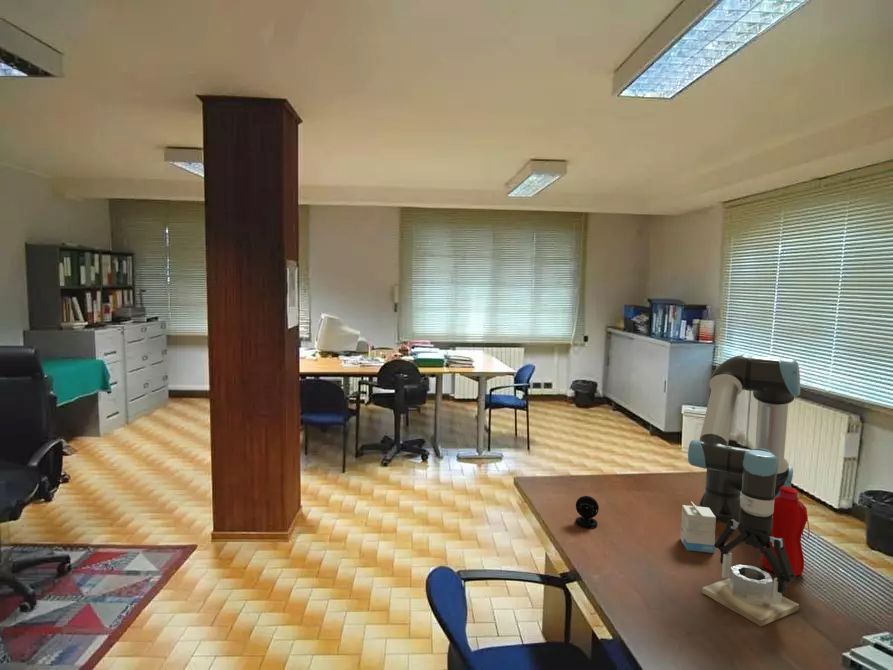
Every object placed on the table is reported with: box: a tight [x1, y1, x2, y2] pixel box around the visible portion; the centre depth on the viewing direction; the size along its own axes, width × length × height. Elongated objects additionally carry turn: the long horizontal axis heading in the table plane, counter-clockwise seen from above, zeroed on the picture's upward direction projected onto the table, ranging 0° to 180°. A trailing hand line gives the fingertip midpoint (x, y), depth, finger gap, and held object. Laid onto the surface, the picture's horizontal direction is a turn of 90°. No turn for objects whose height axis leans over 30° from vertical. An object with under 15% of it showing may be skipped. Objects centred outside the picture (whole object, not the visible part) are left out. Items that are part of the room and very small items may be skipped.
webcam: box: [575, 495, 600, 530], centre depth 182 cm, size 8×8×10 cm
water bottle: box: [761, 486, 810, 577], centre depth 154 cm, size 9×11×25 cm
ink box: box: [679, 501, 717, 554], centre depth 169 cm, size 9×8×13 cm
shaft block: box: [701, 569, 800, 627], centre depth 138 cm, size 16×16×8 cm
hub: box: [729, 564, 774, 607], centre depth 138 cm, size 9×9×6 cm
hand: (750, 589), depth 138 cm, fingers open, 13 cm apart
